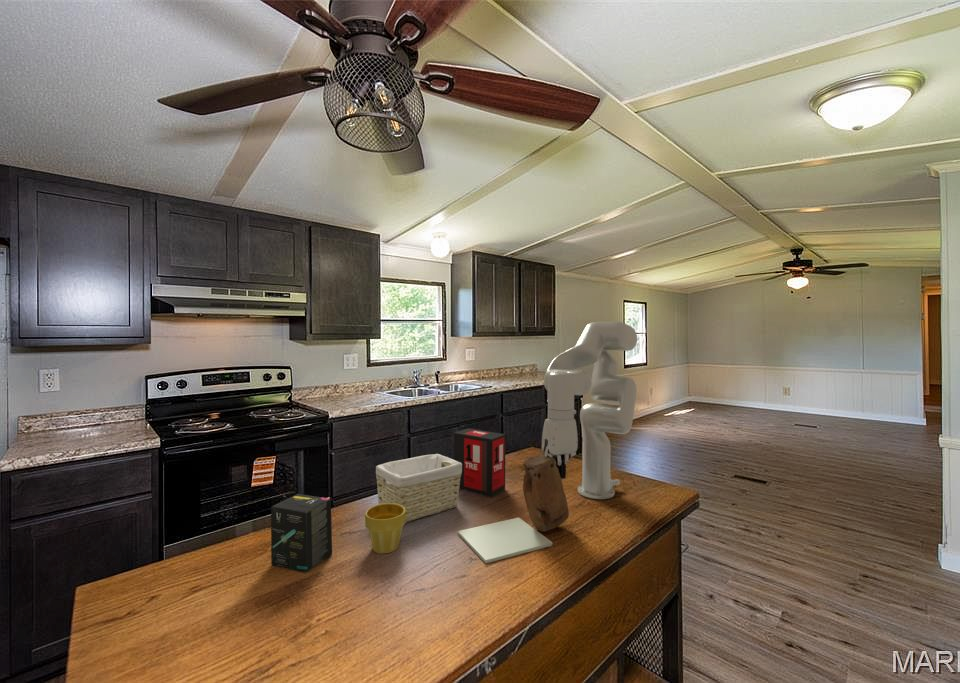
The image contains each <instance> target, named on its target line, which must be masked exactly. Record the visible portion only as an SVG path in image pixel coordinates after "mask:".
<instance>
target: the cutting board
mask: <svg viewBox="0 0 960 683" xmlns="http://www.w3.org/2000/svg"><path fill="white" fill-rule="evenodd" d="M457 535H458V536H459V537H460V538H461V539H462V540H463V541H464V542H465V543H466V544H467V545H468V547H470V549H471V550H472V551H473V552H474V553H475V554H476V555H477V556H478V557H479V558H480V559H481V561H483V562H484V564H489V563H492V562H496V561H500V560H504V559H507V558H510V557H511V558H512V557H514V556H518V555H521V554H526V553H529V552H532V551H533V552H534V551H536V550H541V549H544V548H548V547H552V546H553V541H551V540H550V539H549V538H547V537H546V536H544V534H542V533H541V532H540V531H539V530H537V529H536V528H533V527H532V526H531V525H530V524H528V523H527V522H525V521H524V520H523V519H522V518H520V517H514V518H510V519H505V520H502V521H497V522H493V523H488V524H483V525H479V526H475V527H470V528H466V529H461V530H457Z"/></svg>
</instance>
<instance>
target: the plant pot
mask: <svg viewBox="0 0 960 683" xmlns="http://www.w3.org/2000/svg"><path fill="white" fill-rule="evenodd" d="M405 519H406V510H405V508H404V507H403V506H402V505H399V504H395V503H384V504H379V505H378V504H375V505H373V506H371V507H369V508H367V510H366V511H365V513H364V522H365V528H366V530H368V532H369V533H368V534H369V537H370V542H371V547H372V550H373V552H375V553H376V554H389V553H392V552H394V551H396V550H397V549H398V548H399V545H400V542H401V541H400V540H401V535H402V533H403V532H402V530H403V527H404V525H405V524H406V523H405Z"/></svg>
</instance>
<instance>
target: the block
mask: <svg viewBox="0 0 960 683" xmlns="http://www.w3.org/2000/svg"><path fill="white" fill-rule="evenodd" d="M544 454H545V452H538V453H537V454H535V455H532V456H530V457H528V458H527V459H526V460H524V462H523V468H524V473H523V481H522V482H523V484H522V492H523V497H524V502H525V505H526V506H525V507H526V509H527V512H528V516H529V519H530V521H531V523H532V525H533V526H534V527H535V528H534V529H535V530H536V531H538V532H540V533H541V532H543V533H545V532H548V531H550V530H553V529H556V528H557V527H558V526H561V525H562V524H564V523H565V522H566V521H567V520H568V518H569V515H570V512H569V505H568V501H567V500H568V499H567V496H566V492H565V491H564V490H565V489H564V486H563V481H562V480H563V479H561V477H560V474H559V470H558V468H557V466H556V461H555V459H554V458H553V457H549V456H544Z"/></svg>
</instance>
